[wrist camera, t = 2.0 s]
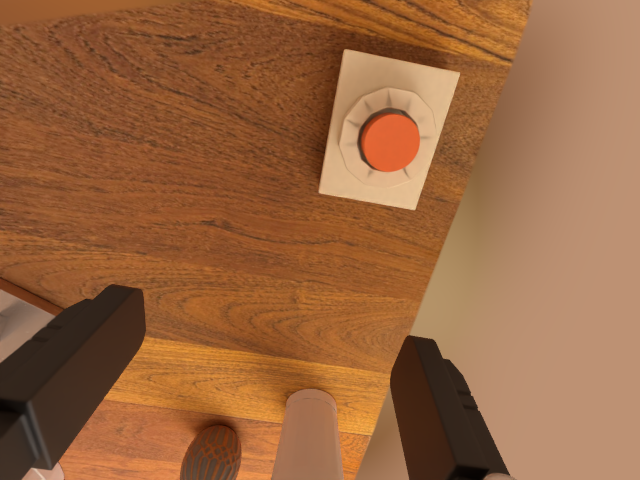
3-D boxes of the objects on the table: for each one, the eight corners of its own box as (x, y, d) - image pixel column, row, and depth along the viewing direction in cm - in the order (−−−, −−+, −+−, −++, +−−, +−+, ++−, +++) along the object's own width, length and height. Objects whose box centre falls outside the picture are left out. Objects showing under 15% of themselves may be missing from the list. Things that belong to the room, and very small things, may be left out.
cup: (283, 379, 37) (264, 499, 26) (348, 388, 37) (357, 510, 26) (276, 422, 40) (257, 544, 29) (336, 430, 40) (340, 553, 30)
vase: (188, 439, 42) (155, 520, 34) (205, 410, 39) (174, 490, 31) (235, 455, 43) (214, 536, 35) (254, 428, 41) (237, 509, 33)
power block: (343, 52, 22) (346, 44, 19) (449, 74, 23) (472, 70, 19) (318, 185, 26) (317, 200, 23) (408, 202, 27) (421, 218, 23)
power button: (368, 107, 20) (371, 108, 19) (420, 118, 21) (428, 119, 19) (355, 161, 22) (358, 166, 20) (404, 170, 22) (410, 176, 21)
